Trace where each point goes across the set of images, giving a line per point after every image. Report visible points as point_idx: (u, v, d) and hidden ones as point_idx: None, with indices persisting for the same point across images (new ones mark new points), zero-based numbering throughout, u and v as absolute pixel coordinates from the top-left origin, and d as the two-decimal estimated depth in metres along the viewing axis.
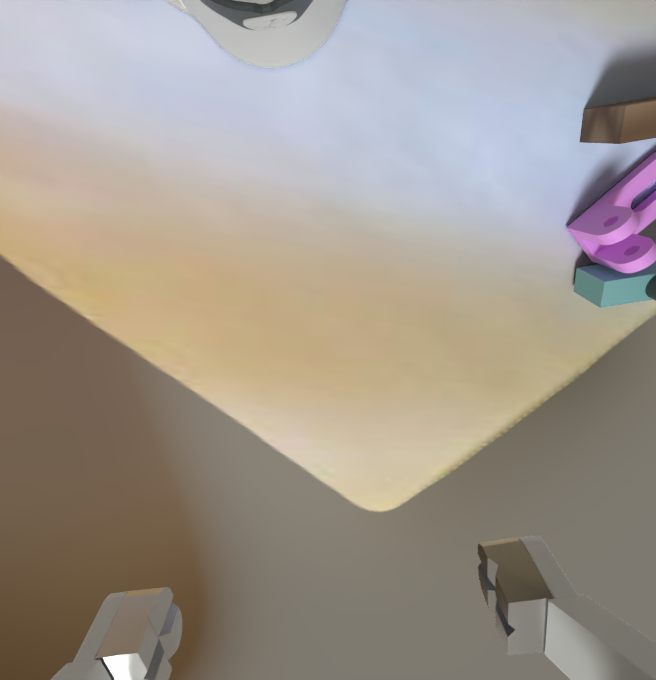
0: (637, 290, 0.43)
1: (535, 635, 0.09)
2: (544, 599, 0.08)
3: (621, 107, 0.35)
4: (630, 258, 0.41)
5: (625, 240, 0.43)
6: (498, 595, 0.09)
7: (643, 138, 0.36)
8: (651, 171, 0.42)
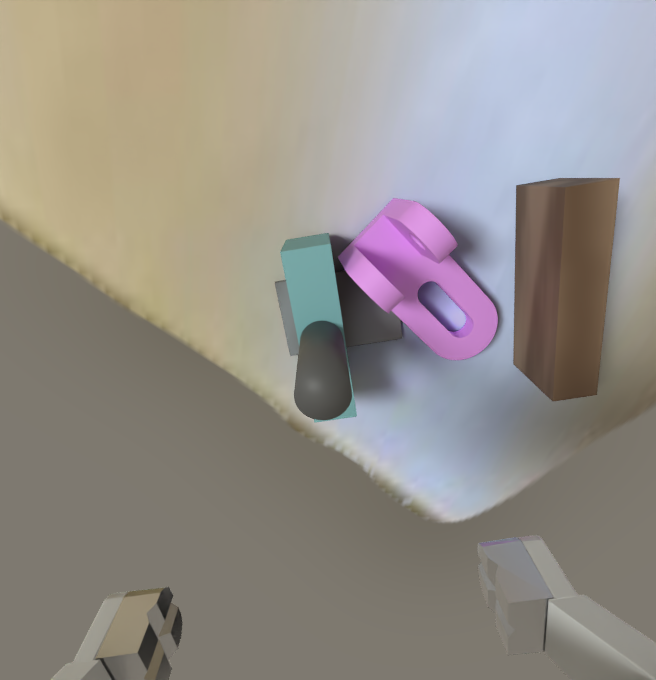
0: (313, 308, 0.25)
1: (535, 635, 0.09)
2: (544, 599, 0.08)
3: (611, 178, 0.23)
4: None
5: None
6: (498, 595, 0.09)
7: (565, 225, 0.23)
8: (471, 296, 0.29)
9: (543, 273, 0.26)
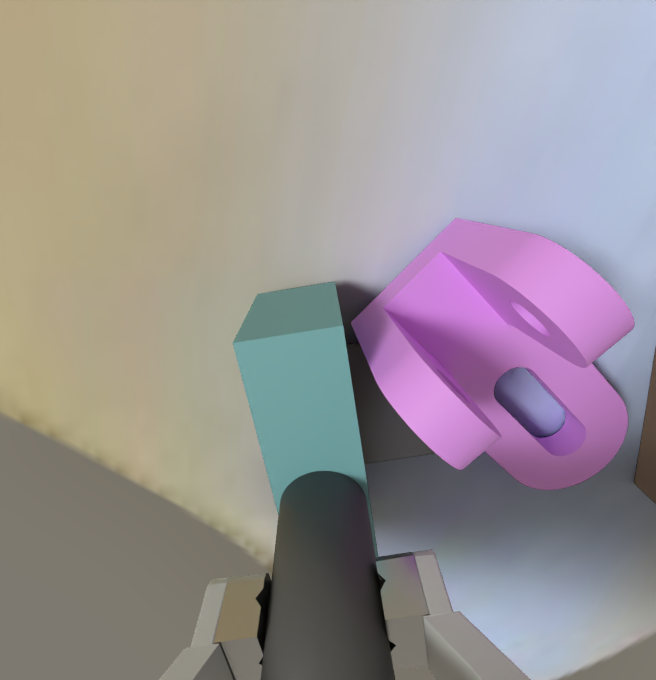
0: (306, 450, 0.12)
1: (416, 650, 0.09)
2: (420, 615, 0.09)
3: None
4: (446, 382, 0.11)
5: (446, 372, 0.14)
6: (383, 610, 0.09)
7: None
8: (588, 390, 0.17)
9: None
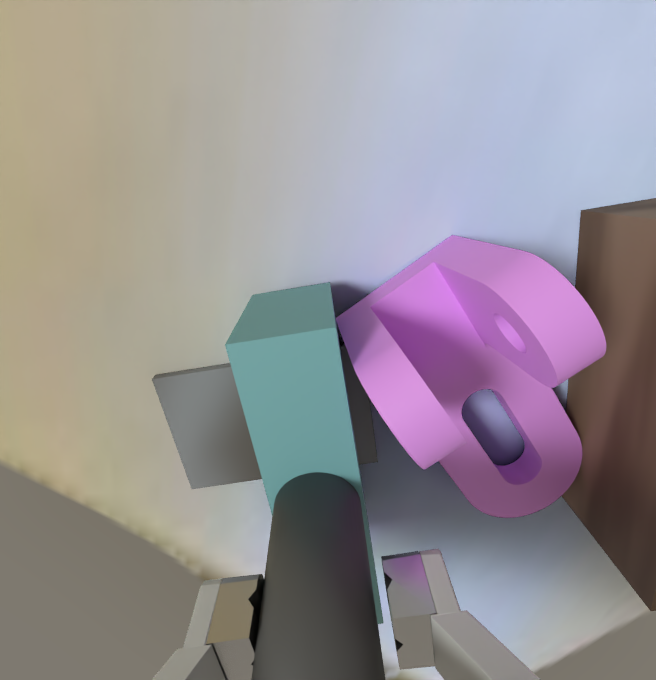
0: (299, 451, 0.12)
1: (423, 650, 0.09)
2: (428, 614, 0.09)
3: None
4: None
5: None
6: (390, 609, 0.09)
7: None
8: (549, 422, 0.17)
9: (641, 384, 0.14)
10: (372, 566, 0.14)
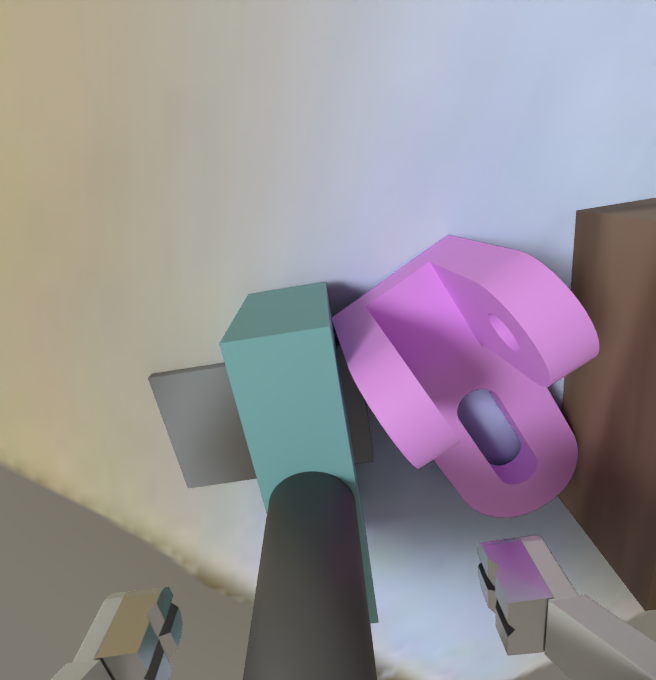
0: (294, 450, 0.12)
1: (535, 635, 0.09)
2: (544, 599, 0.08)
3: None
4: None
5: None
6: (498, 595, 0.09)
7: None
8: (545, 422, 0.17)
9: (636, 384, 0.14)
10: (367, 565, 0.14)
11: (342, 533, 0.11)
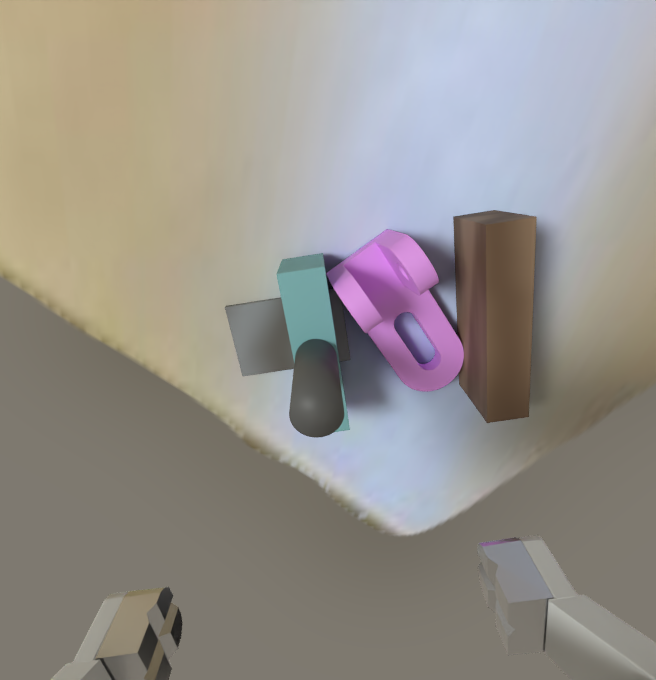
0: (308, 327, 0.26)
1: (535, 635, 0.09)
2: (544, 599, 0.08)
3: (530, 216, 0.24)
4: None
5: None
6: (498, 595, 0.09)
7: (488, 259, 0.25)
8: (443, 332, 0.31)
9: (475, 302, 0.28)
10: (343, 393, 0.28)
11: (329, 355, 0.25)
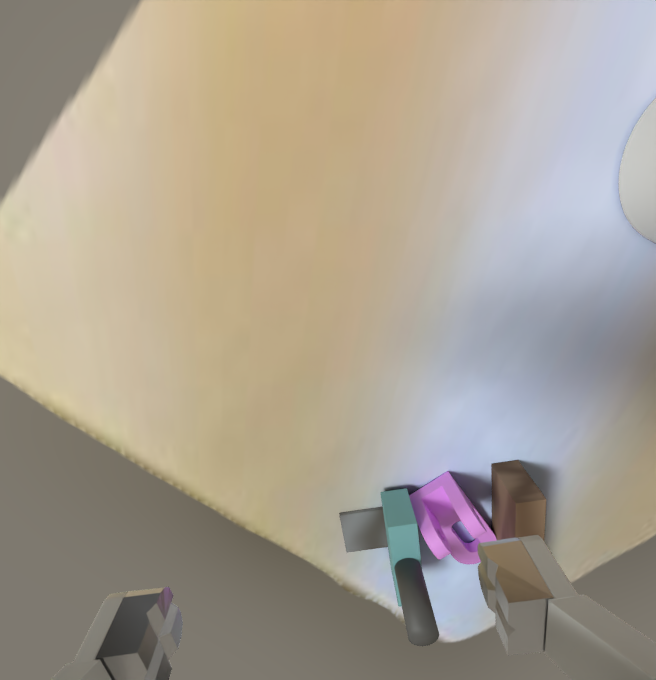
0: (404, 552, 0.42)
1: (535, 635, 0.09)
2: (544, 599, 0.08)
3: (542, 495, 0.40)
4: (439, 536, 0.41)
5: (438, 524, 0.44)
6: (498, 595, 0.09)
7: (516, 519, 0.41)
8: None
9: (506, 528, 0.44)
10: None
11: (420, 577, 0.41)
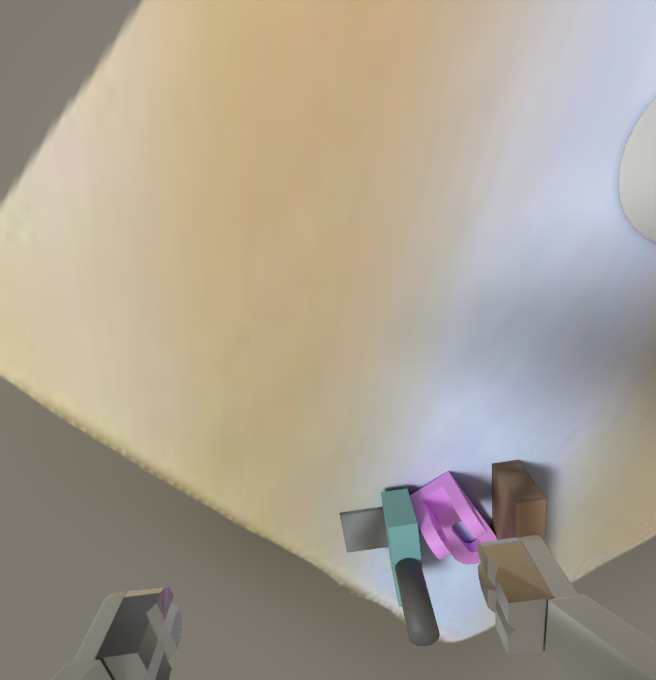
0: (404, 552, 0.42)
1: (535, 635, 0.09)
2: (544, 599, 0.08)
3: (542, 495, 0.40)
4: (440, 536, 0.41)
5: (438, 524, 0.44)
6: (498, 595, 0.09)
7: (517, 519, 0.41)
8: None
9: (507, 527, 0.44)
10: None
11: (421, 577, 0.41)
